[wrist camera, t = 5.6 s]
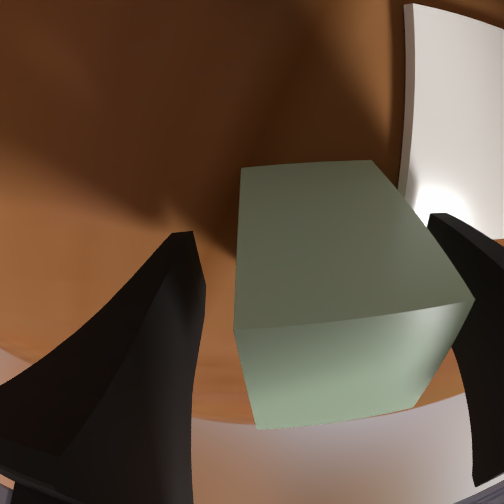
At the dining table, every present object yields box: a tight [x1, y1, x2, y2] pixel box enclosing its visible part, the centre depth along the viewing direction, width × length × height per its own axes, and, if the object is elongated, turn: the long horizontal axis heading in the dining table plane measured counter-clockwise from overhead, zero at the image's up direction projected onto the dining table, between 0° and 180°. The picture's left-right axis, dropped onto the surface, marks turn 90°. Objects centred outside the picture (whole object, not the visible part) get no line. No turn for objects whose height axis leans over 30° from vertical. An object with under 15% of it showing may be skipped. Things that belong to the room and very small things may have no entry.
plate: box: [398, 3, 504, 239], centre depth 8 cm, size 8×8×1 cm
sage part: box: [233, 160, 475, 430], centre depth 8 cm, size 4×4×6 cm
